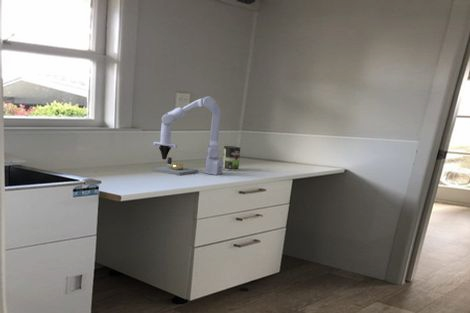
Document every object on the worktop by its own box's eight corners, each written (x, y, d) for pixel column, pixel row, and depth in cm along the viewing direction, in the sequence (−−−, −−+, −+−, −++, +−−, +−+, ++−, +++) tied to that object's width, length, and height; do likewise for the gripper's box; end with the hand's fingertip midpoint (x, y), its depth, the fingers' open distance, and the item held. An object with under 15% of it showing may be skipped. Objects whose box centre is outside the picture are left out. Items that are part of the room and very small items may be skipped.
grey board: (198, 172, 264) (199, 169, 264) (179, 175, 249) (179, 172, 249) (173, 167, 274) (173, 165, 274) (153, 170, 259) (153, 167, 259)
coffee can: (242, 170, 286) (243, 147, 284) (229, 171, 279) (231, 148, 278) (231, 167, 294) (233, 145, 292) (218, 168, 287) (220, 145, 285)
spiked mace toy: (185, 169, 260) (185, 160, 260) (176, 169, 256) (176, 160, 255) (172, 166, 269) (173, 157, 269) (163, 166, 265) (163, 157, 264)
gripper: (180, 136, 260) (178, 160, 262) (158, 133, 266) (157, 157, 268) (174, 136, 254) (172, 161, 256) (151, 134, 260) (150, 158, 261)
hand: (164, 159), depth 261 cm, fingers closed
